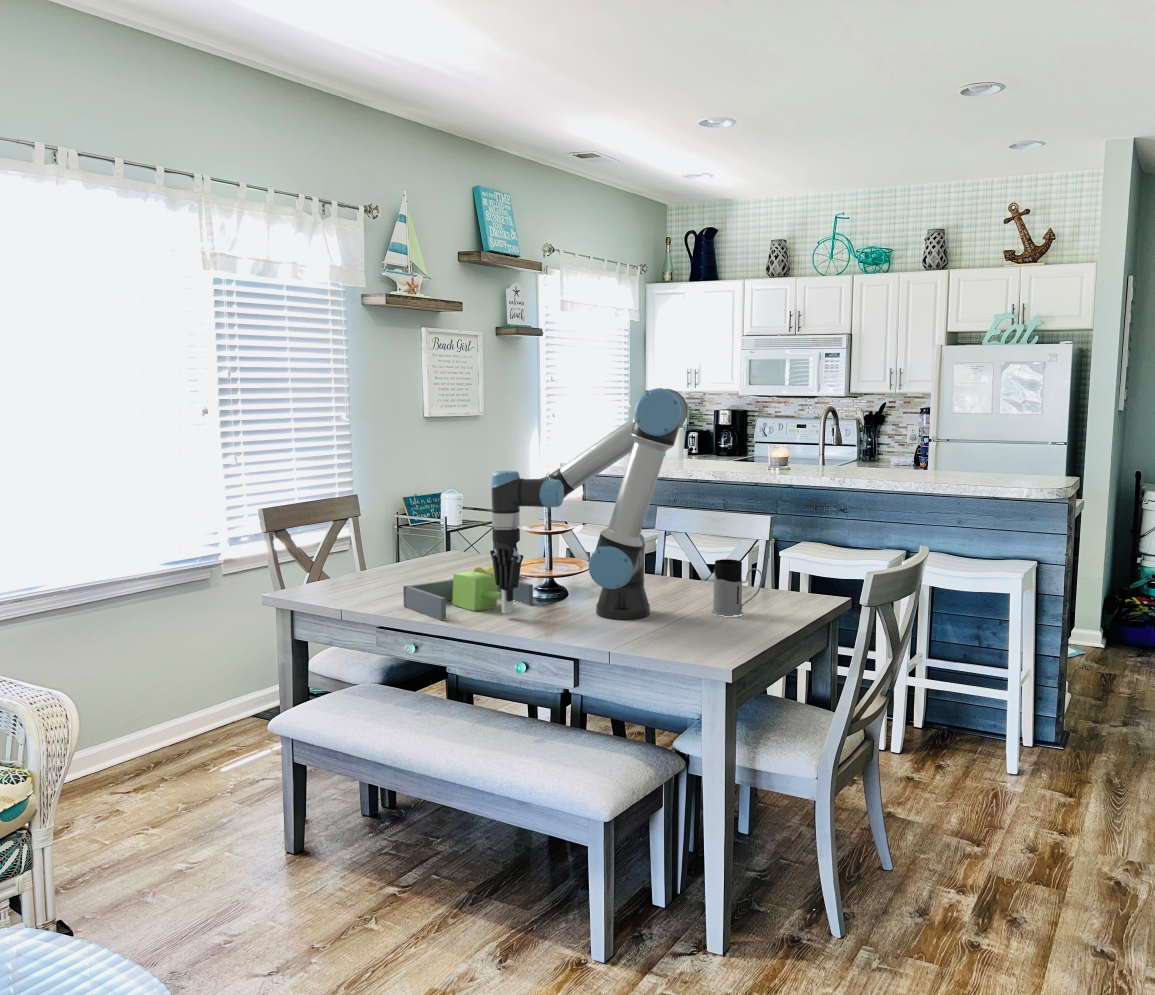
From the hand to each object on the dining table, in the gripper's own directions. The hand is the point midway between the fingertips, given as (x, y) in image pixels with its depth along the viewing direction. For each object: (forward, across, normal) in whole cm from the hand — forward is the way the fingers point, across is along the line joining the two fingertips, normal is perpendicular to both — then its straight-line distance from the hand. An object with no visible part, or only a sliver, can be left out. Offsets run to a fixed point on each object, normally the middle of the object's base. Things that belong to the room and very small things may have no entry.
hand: (507, 612), depth 259 cm
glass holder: (+3, -36, -53) cm, 64 cm away
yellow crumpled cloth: (+2, +46, -27) cm, 54 cm away
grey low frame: (+2, +19, +1) cm, 19 cm away
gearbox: (+2, +17, -1) cm, 17 cm away
